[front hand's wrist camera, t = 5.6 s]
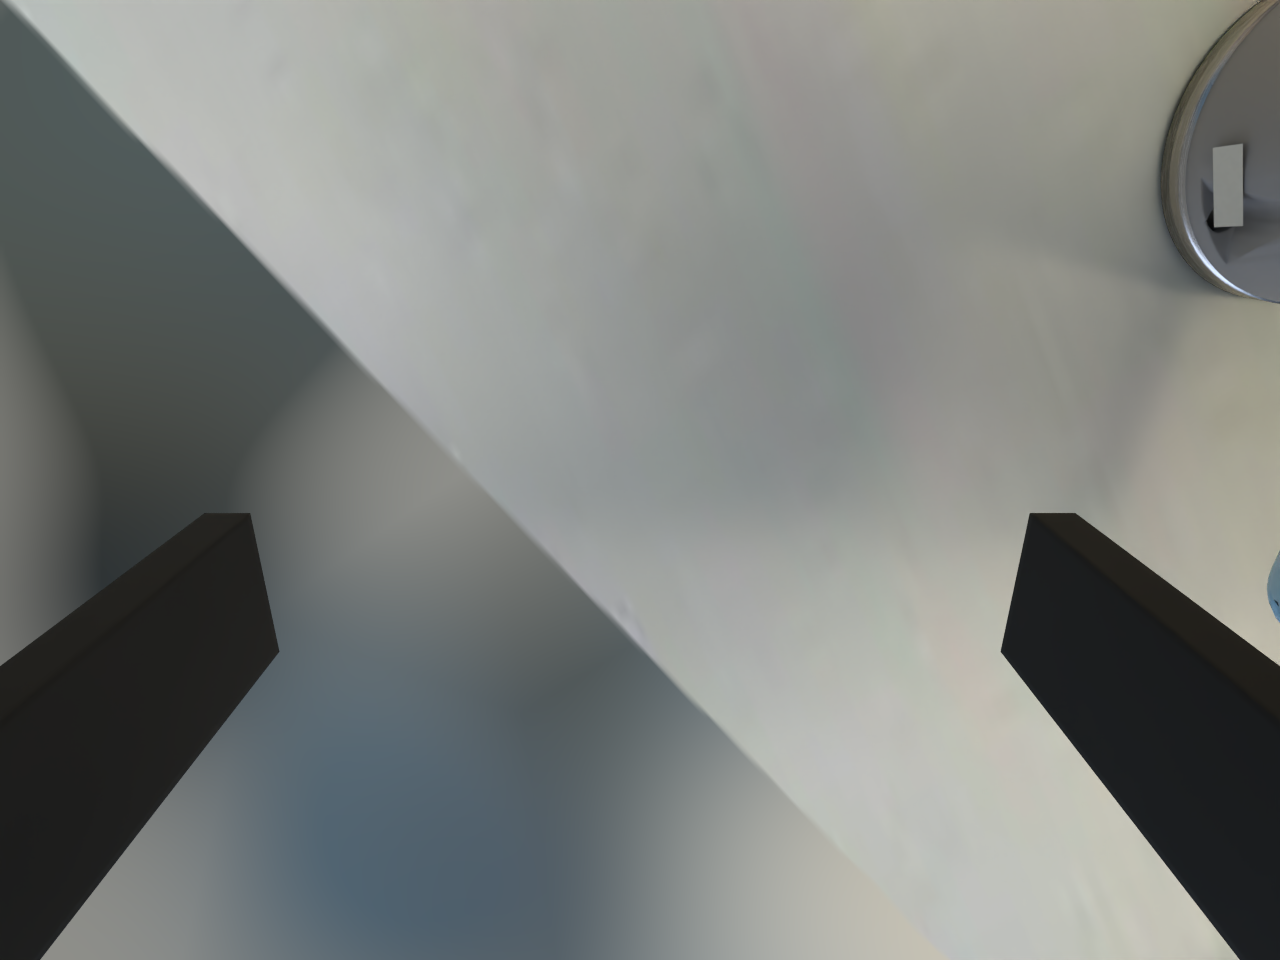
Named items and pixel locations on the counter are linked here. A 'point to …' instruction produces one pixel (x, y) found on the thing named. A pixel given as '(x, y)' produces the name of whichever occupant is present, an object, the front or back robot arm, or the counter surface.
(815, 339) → the counter surface
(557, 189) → the counter surface
